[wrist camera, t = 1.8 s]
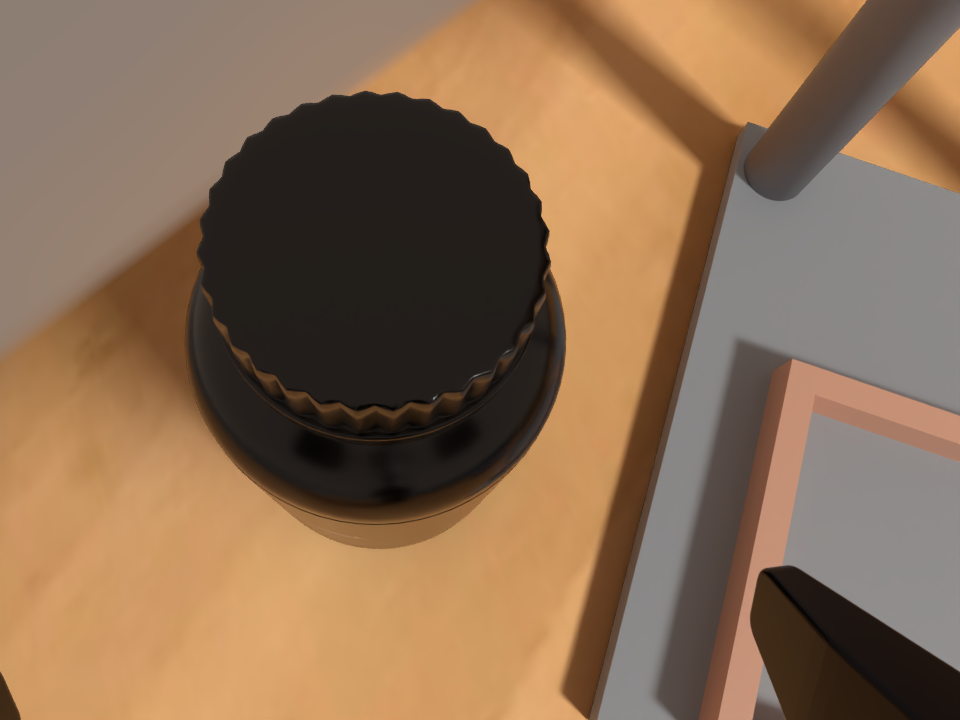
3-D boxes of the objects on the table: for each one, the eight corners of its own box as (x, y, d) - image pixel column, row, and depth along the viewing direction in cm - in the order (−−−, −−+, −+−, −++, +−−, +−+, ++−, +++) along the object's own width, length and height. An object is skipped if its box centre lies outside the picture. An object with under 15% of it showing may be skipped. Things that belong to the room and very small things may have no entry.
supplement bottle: (258, 561, 20) (78, 507, 9) (261, 316, 22) (117, 19, 11) (517, 544, 21) (653, 475, 10) (498, 309, 23) (593, 24, 12)
